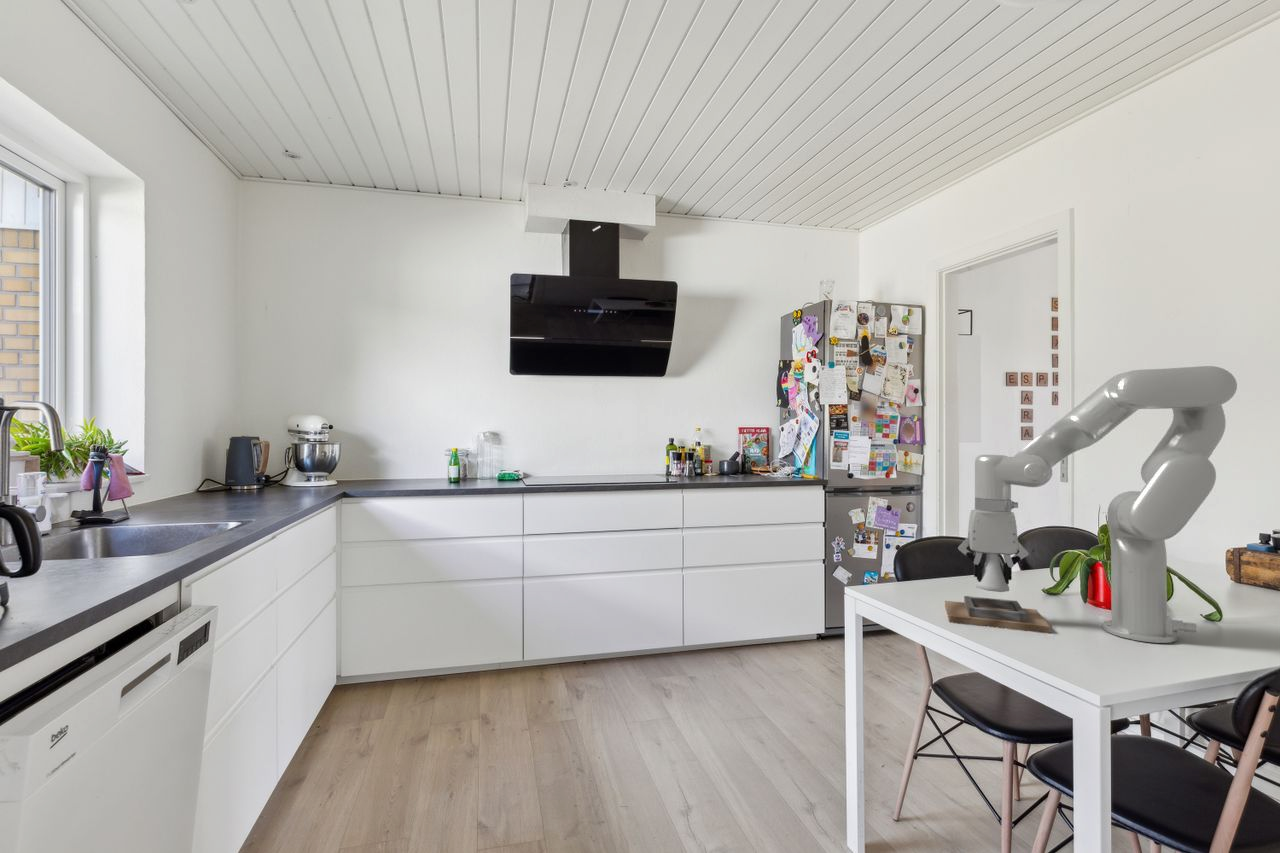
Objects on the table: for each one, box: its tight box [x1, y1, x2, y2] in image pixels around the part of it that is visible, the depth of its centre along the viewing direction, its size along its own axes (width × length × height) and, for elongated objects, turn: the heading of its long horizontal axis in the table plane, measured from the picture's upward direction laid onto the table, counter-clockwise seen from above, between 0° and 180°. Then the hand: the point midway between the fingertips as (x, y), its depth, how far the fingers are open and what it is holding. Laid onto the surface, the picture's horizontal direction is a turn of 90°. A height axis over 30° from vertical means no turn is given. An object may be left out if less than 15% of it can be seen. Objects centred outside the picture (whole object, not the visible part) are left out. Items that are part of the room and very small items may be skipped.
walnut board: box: [944, 595, 1051, 634], centre depth 144 cm, size 20×14×4 cm
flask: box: [975, 553, 1010, 593], centre depth 144 cm, size 7×7×10 cm
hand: (992, 580), depth 144 cm, fingers closed on flask, 5 cm apart
